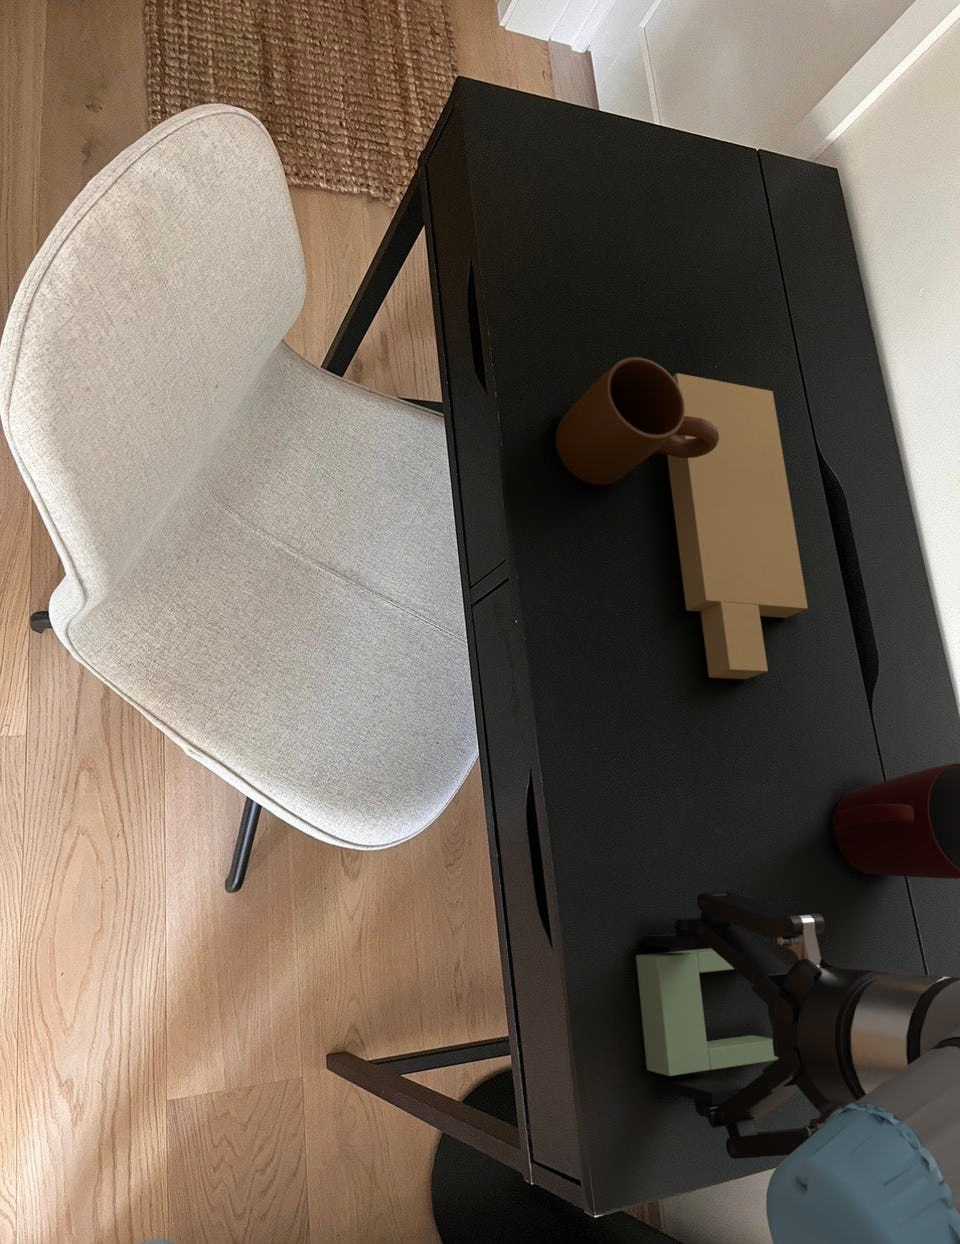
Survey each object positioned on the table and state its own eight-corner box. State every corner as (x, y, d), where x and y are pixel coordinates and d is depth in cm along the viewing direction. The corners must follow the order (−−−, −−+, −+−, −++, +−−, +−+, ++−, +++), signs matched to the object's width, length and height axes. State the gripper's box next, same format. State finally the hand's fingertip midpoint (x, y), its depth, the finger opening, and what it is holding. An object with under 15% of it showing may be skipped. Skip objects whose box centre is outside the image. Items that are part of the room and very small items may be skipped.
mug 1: (672, 445, 86) (735, 395, 78) (663, 516, 83) (728, 472, 75) (559, 398, 83) (612, 340, 74) (546, 470, 80) (599, 419, 72)
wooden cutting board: (694, 677, 80) (715, 668, 77) (658, 389, 88) (676, 372, 85) (795, 681, 84) (818, 673, 81) (752, 406, 92) (772, 390, 89)
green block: (646, 1070, 68) (669, 1076, 65) (635, 955, 70) (657, 956, 68) (754, 1054, 72) (780, 1059, 69) (740, 945, 74) (765, 946, 71)
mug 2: (799, 875, 78) (901, 870, 68) (793, 771, 81) (891, 751, 71) (908, 886, 82) (1019, 882, 72) (899, 786, 85) (1005, 770, 75)
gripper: (990, 1266, 48) (727, 1164, 68) (912, 836, 54) (691, 857, 74) (881, 1297, 45) (639, 1181, 65) (811, 840, 52) (609, 861, 71)
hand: (667, 1009), depth 70 cm, fingers open, 9 cm apart
